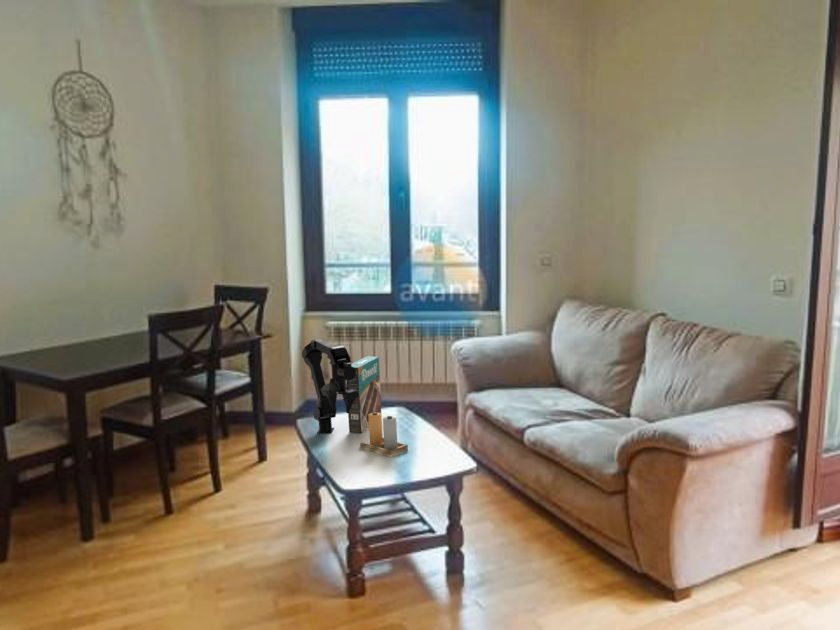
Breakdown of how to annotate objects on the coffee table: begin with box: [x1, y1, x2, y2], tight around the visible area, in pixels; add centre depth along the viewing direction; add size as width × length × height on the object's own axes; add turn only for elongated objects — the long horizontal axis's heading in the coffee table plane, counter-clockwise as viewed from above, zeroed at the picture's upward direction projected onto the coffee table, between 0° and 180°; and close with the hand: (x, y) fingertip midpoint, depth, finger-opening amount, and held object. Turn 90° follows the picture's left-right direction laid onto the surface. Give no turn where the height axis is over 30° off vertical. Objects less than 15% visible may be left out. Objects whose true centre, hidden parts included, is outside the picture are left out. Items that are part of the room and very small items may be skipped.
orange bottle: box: [368, 412, 384, 446], centre depth 282 cm, size 5×5×14 cm
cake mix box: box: [346, 355, 382, 435], centre depth 310 cm, size 22×6×30 cm, turn 159°
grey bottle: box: [382, 415, 398, 450], centre depth 276 cm, size 5×5×14 cm
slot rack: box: [359, 437, 409, 459], centre depth 280 cm, size 18×10×2 cm, turn 47°
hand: (340, 411), depth 291 cm, fingers open, 9 cm apart
